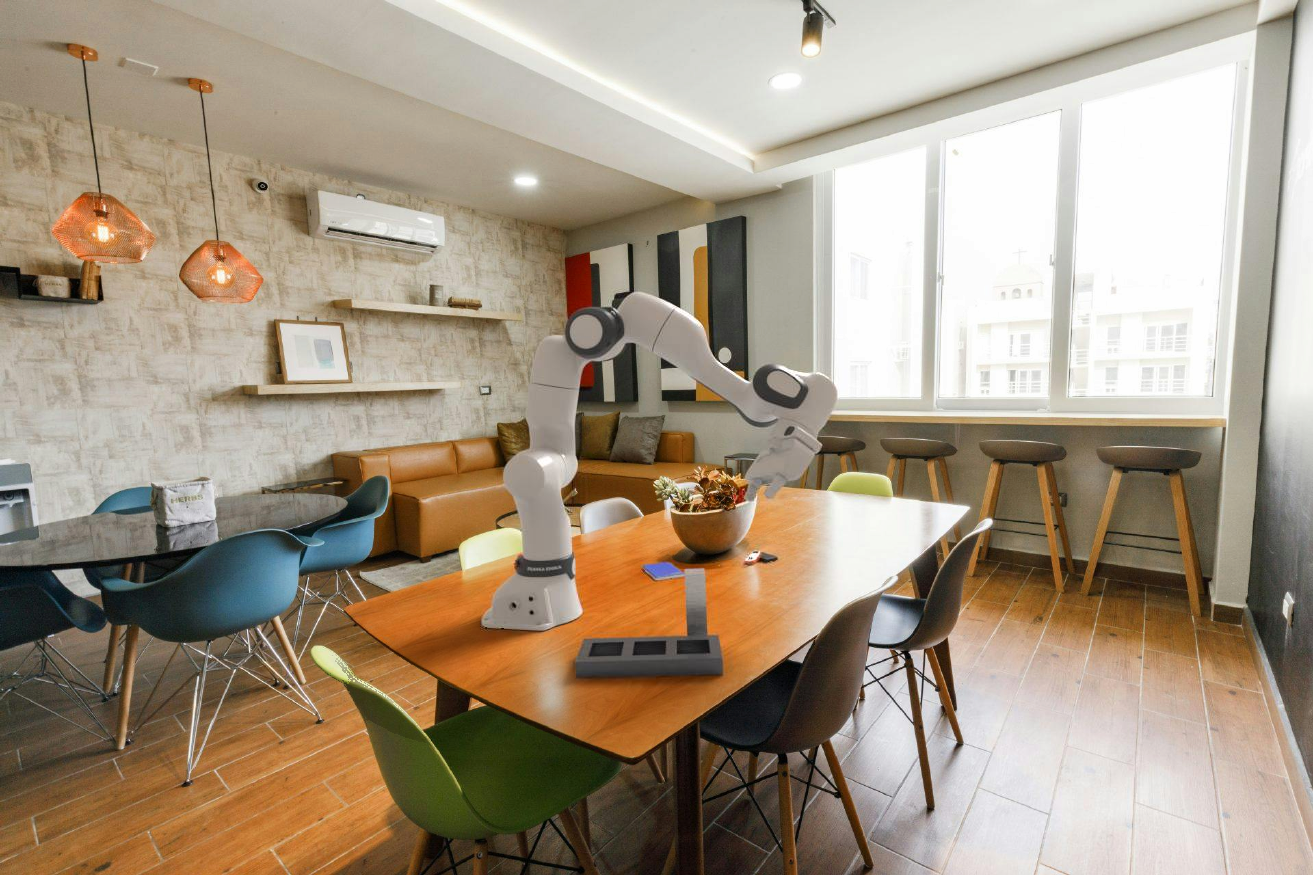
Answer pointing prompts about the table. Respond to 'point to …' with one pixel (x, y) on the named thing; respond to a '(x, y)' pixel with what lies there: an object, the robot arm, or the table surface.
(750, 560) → the multimeter
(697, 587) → the post
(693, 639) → the dark grey flat frame
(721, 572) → the table surface
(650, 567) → the hard drive
